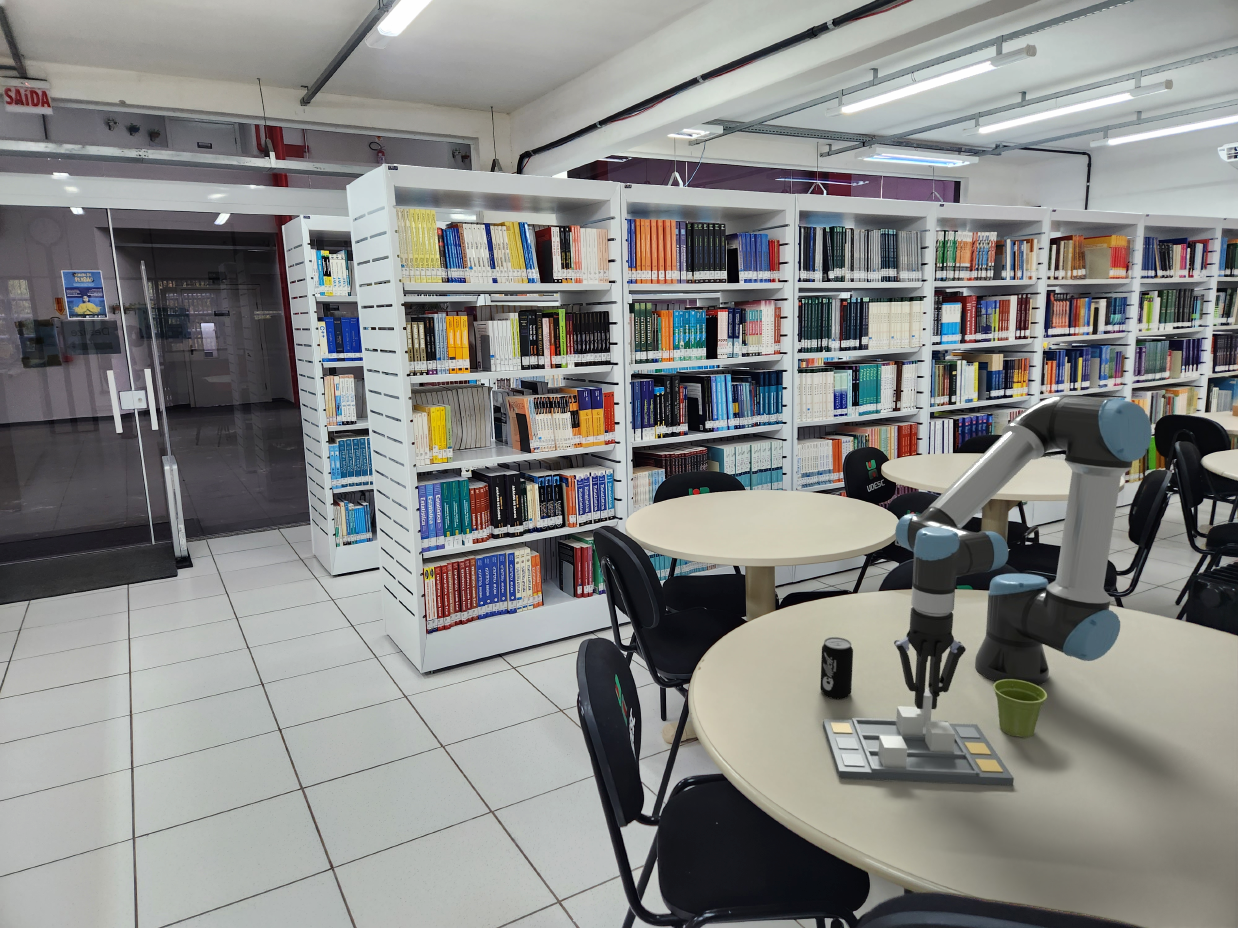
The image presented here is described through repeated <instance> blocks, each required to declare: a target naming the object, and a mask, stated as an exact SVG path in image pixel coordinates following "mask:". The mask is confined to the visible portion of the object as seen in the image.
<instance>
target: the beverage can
mask: <svg viewBox="0 0 1238 928" xmlns="http://www.w3.org/2000/svg"><path fill="white" fill-rule="evenodd" d="M853 659H854V649H853V647H852V642H851V641H850V640H848V639H846V638H843V637H836V636H835V637H833V636H832V637H827V638H825V639H824V641H823V645H822V646H821V659H820V660H821V661H820V662H821V663H820V691H821V693H822V694H823V695H824V696H825V697H827V698H829V699H833V700H844V699H847V698H849V696H850V695H851V693H852V688H853V687H852V686H853V685H852V683H853V662H854V661H853Z"/></svg>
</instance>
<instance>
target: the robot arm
mask: <svg viewBox="0 0 1238 928" xmlns="http://www.w3.org/2000/svg"><path fill="white" fill-rule="evenodd" d="M1152 431H1153V430H1152V423H1151V420H1150V418H1149V415H1148V414H1147V413H1146V411H1145V409H1144V408H1143V407H1142V406H1141V405H1139V404H1138V403H1135V402H1133V401H1130V400H1124V399H1119V398H1106V397H1095V396H1094V397H1093V396H1092V397H1091V396H1085V395H1084V396H1082V395H1074V394H1059V395H1054V396H1051V397H1048V398H1045V399H1043V400H1039V401H1038V402H1037V403H1035V404H1032V405H1031V406H1029V407H1027V408H1026V409H1024V410H1023V411H1022V412H1020V413H1019V414H1017V415H1016V416H1015V417H1014V418H1013V419H1011V420H1010V421H1009V422H1008V423H1006V425H1005V426H1004V427H1003V428H1002V429H1001V436H1000V437H999V439H997V440H996V441H995V442H994V443H993V444H992V445H991V446H990V447H989V448H988V449H987V450H986V451H985V452H984V453H983V454H982V455H981V456H980V457H979V458H978V459H977V460H976V461H974V462H973V464H971V466H970V467H969V468H967V469H966V470H965V471H964V472H963V473H962V474H961V475H960V476H959V477H958V478H957V479H956V480H955V481H954V482H953V483H952V484H951V485H950V486H949V487H948V488H947V489H946V490H945V491H944V492H943V493H941V495H939V496H938V497H937V499H936V500H935V501H933V502H932V503H931V504H930V505H929V506H928V508H927V509H925V510H924V511H923V512H922V513H921V514H918V513H908V514H904V516H902V517H900V519H899V520H898V521H897V523H896V527H895V531H894V532H895V533H894V534H895V538H896V542H897V543H898V544H899V545H900V546H901V547H903V548H905V549H907V550H908V551H911V552H913V564H912V566H913V569H912V570H913V572H912V587H911V603H910V604H911V608H910V616H909V618H910V619H909V630H908V631H907V633H906V637H904V638H903V639H901V640H900V639H899V640H898V639H897V640H894V642H893V644H894V646H895V647H896V649H897V650H898V653H899V654H898V655H899V657H900V663H901V667H902V673H903V677H904V681H905V685H906V686H907V688H908V691H910V692H914V705H915V707H917V709H919V710H920V711H921V713H922V715H923V717H924V725H923V727H926V722H931V721H932V710H936V709H937V708H938V707H937V706H938V698H939V697H940V695H941V694H940V693H948V691H949V690H950V688H951V683H952V681H953V678H954V676H955V672H956V671H957V666H958V664H959V661H960V659H961V657H962V656H963V655H964V654H965V652H966V650H967V648H966V647H965V646H964V645H963V644H962V642H961V641H957V640H956V639H955V637H954V635H953V626H954V625H953V624H954V613H953V611H954V610H955V599H956V598H955V594H956V585H957V577H963V576H967V575H968V576H969V575H974V574H981V573H989V572H990V571H994V570H997V569H1000V568H1002V567H1003V566H1004V565H1005V564H1006V563H1007V561H1008V559H1009V547H1008V544H1007V542H1006V540H1005V538H1004V537H1003V536H1002V535H1000V534H999V533H997V532H995V531H989V530H988V531H985V530H981V531H979V532H974V531H970V530H967V529H965V528H964V529H963V527H964V526H965V525H966V524H967V523H968V522H969V521H970V520H972V518H973V517H974V516H975V515H976V514H977V513H978V512H979V511H980V510H981V509H982V508H984V506H985V505H986V504H987V503H988V502H990V501H991V499H993V498H994V496H995V495H997V493H999V492H1000V491H1001V490H1002V488H1004V487H1005V486H1006V485H1007V483H1009V482H1010V481H1011V480H1012V479H1013V478H1015V476H1016V475H1017V474H1018V473H1019V472H1020V471H1021V470H1023V468H1024V467H1025V466H1026V465H1027V464H1028V463H1030V462H1031V461H1032V460H1038V459H1040V458H1041V457H1042V456H1044V454H1045V453H1047V452H1049V451H1053V450H1062V451H1066V453H1065V459H1064V462H1065V463H1066V464H1067V466H1068V467H1070V470H1071V478H1070V484H1069V490H1068V497H1067V504H1066V511H1065V516H1064V517H1065V518H1064V523H1063V531H1062V537H1061V545H1060V552H1059V557H1058V563H1057V564H1058V565H1057V571H1056V576H1055V577H1056V578H1055V580H1054V581H1052V582H1050V583H1049V581H1048V579H1047V578H1046V577H1043V576H1040V575H1037V574H1030V573H1029V574H1028V573H1004V574H1000V575H996V576H995V577H993V578H992V579H991V581H990V583H989V592H988V593H987V596H988V598H987V611H986V612H987V615H986V626H985V627H986V630H985V635H984V639H983V640H982V643H981V645H980V647H979V649H978V650H977V653H976V655H975V662H974V663H975V664H974V667H975V669H976V671H977V672H978V673H979V674H980V675H982V676H983V677H986V678H987V679H988V680H991V681H994V682H995V683H996V682H997V681H1000V680H1006V679H1013V680H1021V681H1025V682H1029V683H1032V684H1034V685H1037V686H1039V687H1040V686H1042V685H1044V684H1045V683H1047V682H1048V680H1049V672H1050V669H1049V665H1048V660H1047V658H1046V654H1045V649H1044V646H1045V647H1046V646H1047V647H1049V648H1051V649H1053V650H1055V651H1058V652H1060V653H1063V654H1064V655H1065V656H1068V657H1069V658H1070V657H1071V658H1075V659H1078V660H1081V661H1084V662H1091V661H1096V660H1098V659H1100V658H1102V657H1103V656H1105V655H1106V654H1107V653H1108V652H1109V651H1110V650H1111V649H1112V647H1113V646H1114V645H1115V643H1116V641H1117V639H1118V637H1119V634H1120V633H1121V632H1120V630H1121V621H1120V618H1119V615H1118V614H1117V613H1116V612H1114V611H1113V610H1111V609H1110V604H1111V596H1110V595H1109V594H1108V593H1107V591H1105V588H1104V586H1105V581H1106V580H1105V579H1106V574H1107V570H1108V569H1107V568H1108V561H1109V557H1110V555H1109V554H1110V549H1111V543H1112V542H1111V541H1112V535H1113V530H1114V529H1113V528H1114V524H1115V519H1116V518H1115V517H1116V510H1117V504H1118V498H1119V491H1120V485H1121V479H1122V476H1123V475H1124V474H1125V473H1127V472H1128V471H1130V470H1132V467H1133V462H1135V461H1138V460H1140V459H1142V458H1143V457H1144V456H1145V454H1146V453H1147V452H1146V450H1149V447H1150V445H1151V442H1152V441H1151V440H1152V437H1153V435H1152ZM910 645H911V646H912V648H913V649H914V651H915V654H916V655H915V656H916V660H915V661H916V664H915V677H914V674H913V671H912V665H911V660H910V656H909V654H908V652H909V650H910V647H909V646H910ZM1043 645H1044V646H1043ZM948 649H949V650H948ZM947 650H948V653H947V656H946V659H945V661H944V665H943V668H942V671H941V664H942V661H943V655H944V654H945V653H946V651H947ZM929 657H930V659H929ZM928 662H929V671H928V688H929V689H927V688H926V682H927V678H926V677H927V667H928V666H927V665H928V664H927V663H928Z"/></svg>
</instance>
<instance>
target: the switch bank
mask: <svg viewBox="0 0 1238 928" xmlns="http://www.w3.org/2000/svg"><path fill="white" fill-rule="evenodd" d="M896 719H897V718H894V719H893V718H870V717H869V718H866V717H864V718H863V717H852V718H851V719H834V718H832V719H826V718H824V719H823V720H822V727H823V731H824V733H825V737H826V741H827V743H828V747H829V750H830V753H831V756H832V760H833V763H834V765H835V769H836V774H837V775H838V779H844V780H845V779H847V780H848V779H849V780H871V781H873V780H874V781H892V782H894V781H895V782H897V781H898V782H918V783H919V782H920V783H937V784H938V783H941V784H942V783H943V784H945V783H946V784H963V785H964V784H965V785H966V784H967V785H968V784H969V785H987V786H988V785H991V786H1011V787H1012V786H1014V780H1015V778H1014V776H1013V775H1012V774H1011V772H1010V770H1009V769H1008V767H1007V766H1006V765H1005V763H1004V762H1003V760H1002V759H1001V757H1000V755H999V754H998V753H997V751H996V750H995V749H994V747H993V746H992V744H991V743H990V741H989V739H988V738H987V737H986V735H985V734H984V733H983V731H982V729H981V728H980V727H979V726H978V724H977V723H976V724H973V723H972V724H971V723H969V724H968V723H950V722H949V721H948V720H931V722H948V723H949V725H950V726H951V728H952V730H953V731H954V733H955V741H954V752H934V751H930V749H929V747H928V745H927V744H926V742H925V733H926V727H923V735H901V734H900V732H899V730H898V727H897V725H896ZM879 736H902V738H903V740H904V742H905V744H906V746H907V764H906V768H895V767H883V765H882V763H881V761H880V758H879V756H878V750H879Z"/></svg>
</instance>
